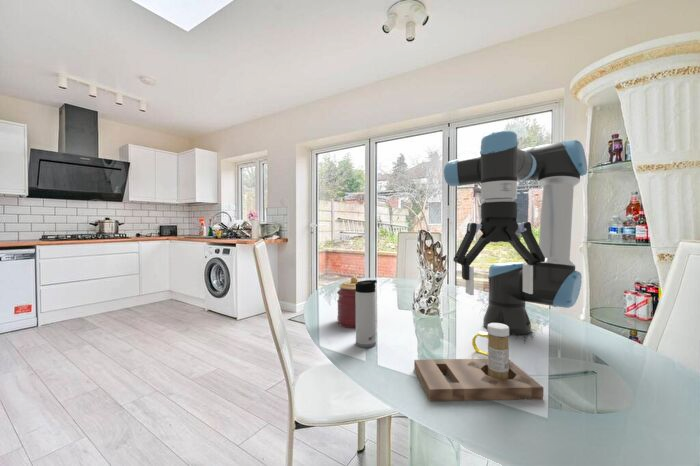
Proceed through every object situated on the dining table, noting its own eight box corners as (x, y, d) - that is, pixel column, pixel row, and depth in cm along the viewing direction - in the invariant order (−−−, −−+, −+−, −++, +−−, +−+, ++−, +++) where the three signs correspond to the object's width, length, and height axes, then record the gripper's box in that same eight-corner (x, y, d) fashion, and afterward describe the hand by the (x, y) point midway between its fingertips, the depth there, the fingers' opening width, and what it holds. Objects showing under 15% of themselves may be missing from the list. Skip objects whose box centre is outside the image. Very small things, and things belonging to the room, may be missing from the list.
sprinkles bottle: (496, 375, 74) (496, 321, 74) (513, 384, 70) (513, 326, 69) (482, 380, 72) (483, 323, 72) (499, 389, 68) (500, 329, 67)
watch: (471, 353, 88) (470, 332, 88) (475, 350, 90) (474, 330, 90) (493, 357, 84) (491, 336, 84) (496, 354, 86) (495, 333, 86)
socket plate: (507, 367, 78) (507, 358, 78) (543, 398, 64) (543, 387, 64) (414, 369, 77) (414, 359, 77) (429, 401, 63) (429, 389, 63)
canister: (377, 320, 117) (377, 275, 117) (360, 331, 106) (360, 280, 106) (349, 315, 124) (348, 272, 124) (330, 324, 113) (330, 277, 113)
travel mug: (375, 349, 90) (375, 282, 90) (354, 347, 92) (353, 281, 91) (378, 341, 97) (377, 278, 96) (357, 339, 98) (357, 278, 97)
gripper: (450, 201, 66) (451, 298, 66) (563, 199, 66) (563, 295, 67) (439, 203, 73) (440, 290, 74) (541, 201, 74) (541, 288, 74)
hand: (498, 293), depth 70 cm, fingers open, 13 cm apart
